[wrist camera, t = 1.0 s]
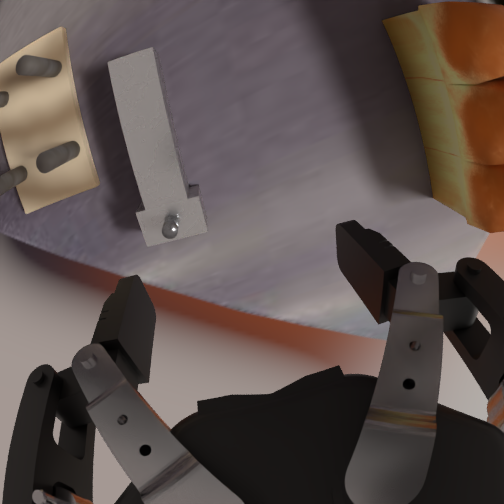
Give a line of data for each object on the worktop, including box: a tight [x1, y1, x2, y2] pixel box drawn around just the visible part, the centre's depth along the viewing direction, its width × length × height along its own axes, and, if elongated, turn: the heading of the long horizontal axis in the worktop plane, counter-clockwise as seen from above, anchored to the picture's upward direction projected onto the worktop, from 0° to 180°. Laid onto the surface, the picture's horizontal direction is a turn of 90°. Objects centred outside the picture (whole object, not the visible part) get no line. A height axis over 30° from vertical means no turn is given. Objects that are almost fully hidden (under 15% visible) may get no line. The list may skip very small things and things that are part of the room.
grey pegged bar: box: [108, 47, 208, 247], centre depth 24 cm, size 18×6×6 cm, turn 10°
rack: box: [0, 27, 100, 214], centre depth 19 cm, size 18×10×7 cm, turn 10°
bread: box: [382, 2, 504, 233], centre depth 21 cm, size 25×12×15 cm, turn 26°
